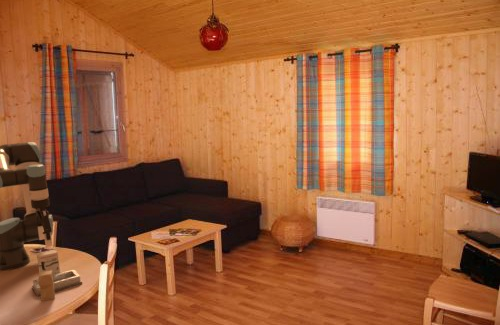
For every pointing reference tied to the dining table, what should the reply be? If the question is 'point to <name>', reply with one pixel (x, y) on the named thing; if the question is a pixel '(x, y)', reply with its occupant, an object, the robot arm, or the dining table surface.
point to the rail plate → (60, 281)
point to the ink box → (48, 261)
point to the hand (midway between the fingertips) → (45, 242)
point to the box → (46, 285)
